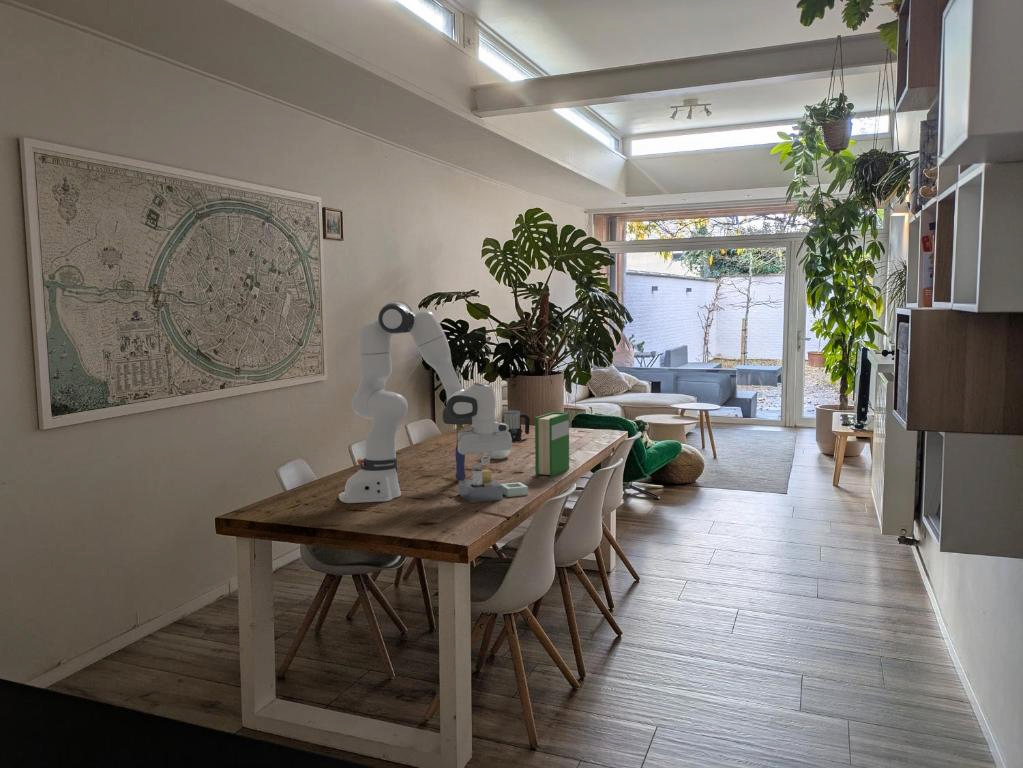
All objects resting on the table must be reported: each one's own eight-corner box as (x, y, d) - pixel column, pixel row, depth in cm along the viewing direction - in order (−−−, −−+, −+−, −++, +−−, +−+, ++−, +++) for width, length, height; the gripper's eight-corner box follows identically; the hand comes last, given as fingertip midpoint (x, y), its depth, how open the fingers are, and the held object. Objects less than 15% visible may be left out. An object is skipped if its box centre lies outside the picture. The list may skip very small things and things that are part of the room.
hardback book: (552, 477, 312) (551, 418, 309) (535, 475, 315) (535, 417, 313) (569, 468, 327) (568, 412, 325) (553, 467, 331) (552, 411, 328)
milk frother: (508, 441, 395) (508, 413, 394) (494, 437, 409) (494, 409, 407) (532, 439, 402) (532, 411, 400) (517, 435, 416) (517, 407, 414)
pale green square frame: (507, 496, 280) (507, 488, 280) (500, 492, 287) (500, 484, 287) (528, 494, 283) (527, 486, 282) (520, 489, 290) (520, 482, 290)
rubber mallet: (442, 482, 305) (441, 407, 302) (448, 478, 312) (447, 404, 309) (473, 483, 302) (471, 407, 299) (478, 479, 309) (477, 405, 306)
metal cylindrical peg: (474, 500, 275) (474, 467, 274) (471, 498, 278) (471, 465, 277) (484, 499, 276) (483, 466, 275) (481, 497, 279) (480, 465, 278)
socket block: (470, 502, 272) (470, 488, 271) (459, 494, 285) (458, 480, 284) (502, 499, 276) (502, 485, 276) (489, 491, 289) (489, 477, 289)
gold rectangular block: (481, 488, 282) (480, 472, 282) (477, 485, 286) (477, 470, 286) (492, 487, 284) (492, 471, 283) (488, 484, 288) (488, 469, 287)
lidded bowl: (513, 455, 359) (513, 431, 358) (510, 460, 347) (510, 436, 346) (486, 454, 361) (486, 431, 360) (482, 460, 348) (482, 436, 347)
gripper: (459, 430, 276) (461, 468, 278) (513, 425, 283) (514, 462, 285) (454, 428, 282) (456, 465, 284) (507, 423, 289) (508, 459, 291)
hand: (485, 463), depth 284 cm, fingers closed
